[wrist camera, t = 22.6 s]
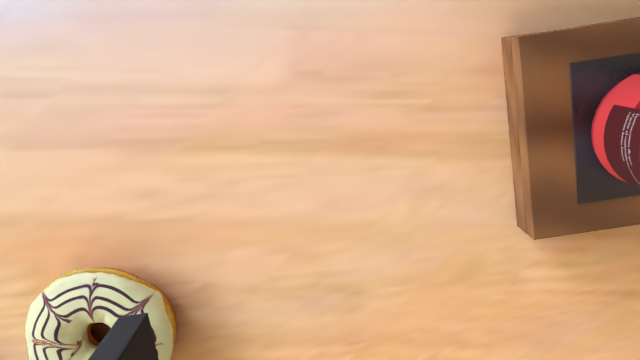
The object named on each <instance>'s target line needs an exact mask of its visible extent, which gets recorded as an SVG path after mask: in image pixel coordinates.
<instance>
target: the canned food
mask: <svg viewBox="0 0 640 360" xmlns="http://www.w3.org/2000/svg"><path fill="white" fill-rule="evenodd" d="M591 138H592V145H593V148H594V152H595V153H596V155H597V157H598V159H599V161H600V162H601V164H602V165H603V166H604V168H605V169H606V170H607V171H608V172H609V173H610V174H612V175H613V176H614V177H616V178H617V179H620V180H622V181H624V182H626V183H629V184H631V185H633V186H636V187H638V188H640V72H638V73H635V74H633V75H631V76H629V77H627V78H626V79H624V80H622V81H621V82H619V83H618V84H616V85H615V86H614V87H613V88H612V89H611V90H610V91H609V92H608V93H607V94H606V95H605V97H604V98H603V99H602V101H601V102H600V104H599V106H598V108H597V110H596V112H595V115H594V118H593V121H592V128H591Z"/></svg>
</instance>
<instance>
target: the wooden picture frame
mask: <svg viewBox="0 0 640 360" xmlns="http://www.w3.org/2000/svg"><path fill="white" fill-rule="evenodd" d="M501 39H502V51H503V63H504V75H505V86H506V98H507V110H508V122H509V133H510V145H511V157H512V169H513V180H514V192H515V204H516V215H517V226H518V227H519V228H521V229H522V230H523V231H524V232H525V233H526V234H528V235H529V236H530V237H531V238H533V239H534V240H537V239H544V238H550V237H557V236H564V235H571V234H577V233H584V232H591V231H597V230H604V229H611V228H618V227H624V226H631V225H638V224H640V188H638V187H636V186H633V185H631V184H629V183H626V182H624V181H622V180H620V179H617V178H616V177H614V176H613V175H612V174H610V173H609V172H608V171H607V170H606V169H605V168H604V166H603V165H602V164H601V162H600V161H599V159H598V157H597V155H596V153H595V152H594V148H593V145H592V138H591V128H592V121H593V118H594V115H595V112H596V110H597V108H598V106H599V104H600V102H601V101H602V99H603V98H604V97H605V95H606V94H607V93H608V92H609V91H610V90H611V89H612V88H613V87H614V86H615V85H616V84H618V83H619V82H621V81H622V80H624V79H626V78H627V77H629V76H631V75H633V74H635V73H638V72H640V17H637V18H630V19H624V20H618V21H611V22H605V23H598V24H592V25H586V26H579V27H573V28H567V29H560V30H554V31H547V32H541V33H529V34H523V35H516V36H510V37H504V38H501Z"/></svg>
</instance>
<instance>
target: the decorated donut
mask: <svg viewBox="0 0 640 360" xmlns="http://www.w3.org/2000/svg"><path fill="white" fill-rule="evenodd" d="M143 313H148V316H149V320H150V324H151V329H152V333H153V337H154V341H155V346H156V350H157V354H158V359H159V360H170V358H171V355H172V351H173V347H174V344H175V340H176V333H177V328H176V318H175V315H174V313H173V311H172V308H171V306H170V304H169V302H168V300H167V299H166V297H165V296H164V295H163V293H162V291H161V290H160V289H159V288H157V287H156V286H153V285H152V284H150V283H148V282H146V281H144V280H142V279H140V278H138V277H136V276H134V275H132V274H130V273H127V272H123V271H120V270H116V269H113V268H90V269H82V270H75V271H72V272H69V273H67V274H64V275H62V276H60V277H59V278H57V279H56V280H54V281H53V282H52V283H51V284H50V285H48V286H47V287H46V288H45V289H44V290H43V292H42V293H41V294H40V295H39V296H38V297H37V298H36V300H35V301H34V302H33V303H32V304H31V306H30V309H29V313H28V316H27V321H26V325H25V331H26V340H27V346H28V355H29V359H30V360H88V359H89V358H90V356H91V355H92V354H93V352H94V351H95V349H96V348H97V347H98V345H99V344H100V343H101V342H99V341H97V340H96V339H95V338H94V337H92V335H91V334H90V331H91V330H90V329H91V327H92V324H94V323H98V322H102V323H105V324H107V325H108V326H109V327H110V328H111V327H112V326H113V325H114V323H115V322H116V321H117V319H118V318H119V317H122V316H129V315H136V314H143Z"/></svg>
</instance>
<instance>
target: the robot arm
mask: <svg viewBox="0 0 640 360" xmlns="http://www.w3.org/2000/svg"><path fill="white" fill-rule="evenodd" d="M88 360H159V359H158V354H157V350H156V346H155V341H154V337H153V333H152V329H151V324H150V320H149V316H148V313H143V314H136V315H129V316H122V317H119V318H118V319H117V321H116V322H115V323H114V325H113V326H112V327H111V329H110V330H109V332H108V333H107V334H106V336H105V337H104V338H103V340H102V341H101V343H100V344H99V345H98V347H97V348H96V349H95V351H94V352H93V354H92V355H91V356H90V358H89V359H88Z"/></svg>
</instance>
